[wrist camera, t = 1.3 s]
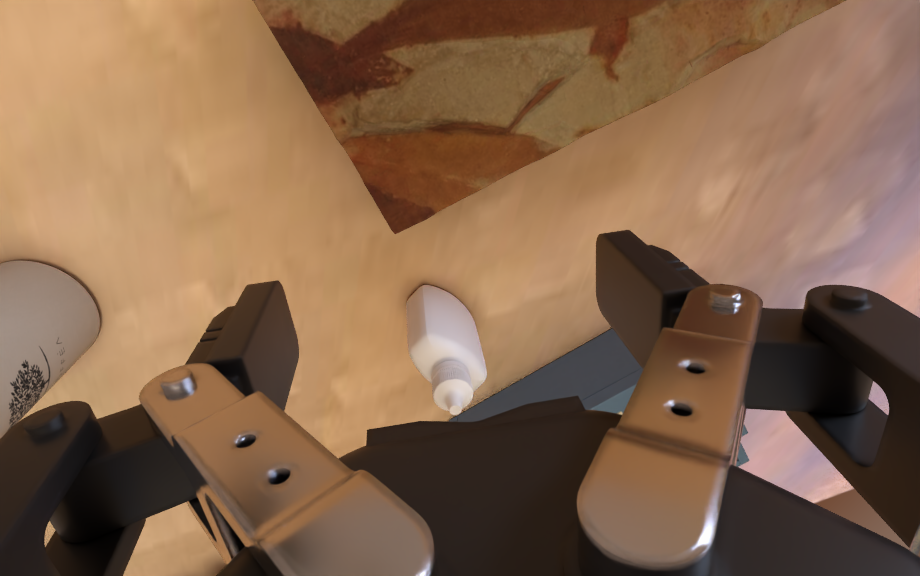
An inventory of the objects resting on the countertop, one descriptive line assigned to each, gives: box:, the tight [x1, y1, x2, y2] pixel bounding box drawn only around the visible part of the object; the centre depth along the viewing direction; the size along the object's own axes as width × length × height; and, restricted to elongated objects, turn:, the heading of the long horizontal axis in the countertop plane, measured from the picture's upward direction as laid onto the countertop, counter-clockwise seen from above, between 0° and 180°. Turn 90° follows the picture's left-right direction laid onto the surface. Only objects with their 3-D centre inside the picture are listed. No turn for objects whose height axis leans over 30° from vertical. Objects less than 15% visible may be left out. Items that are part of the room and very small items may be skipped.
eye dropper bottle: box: [406, 285, 487, 415], centre depth 36 cm, size 4×6×12 cm
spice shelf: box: [449, 328, 749, 467], centre depth 45 cm, size 20×16×8 cm
